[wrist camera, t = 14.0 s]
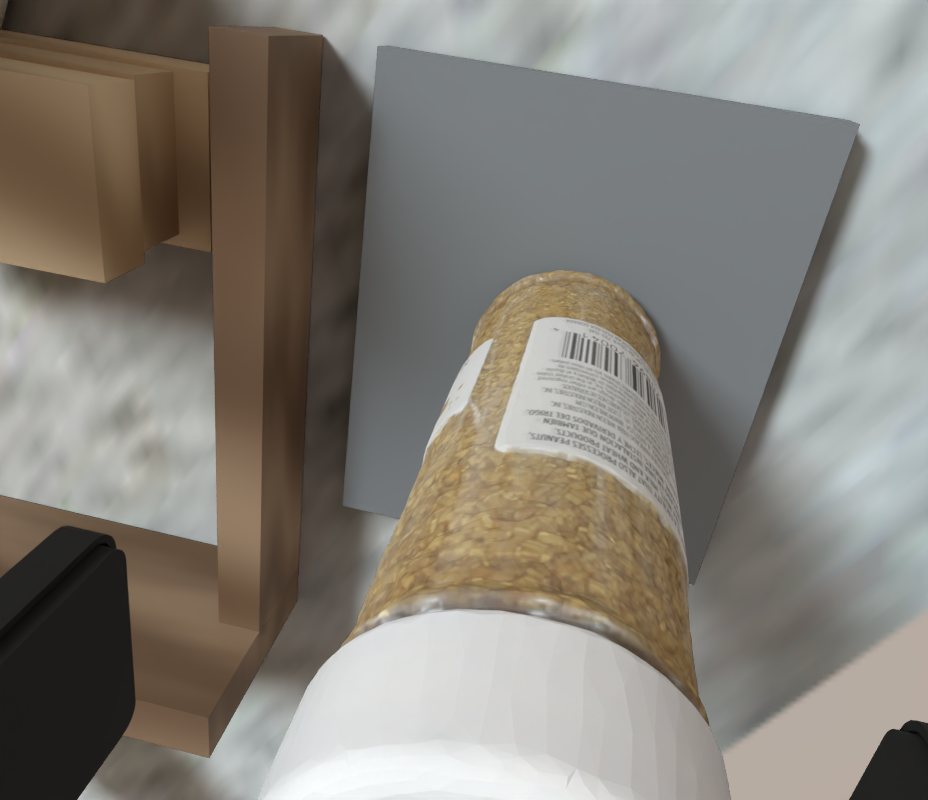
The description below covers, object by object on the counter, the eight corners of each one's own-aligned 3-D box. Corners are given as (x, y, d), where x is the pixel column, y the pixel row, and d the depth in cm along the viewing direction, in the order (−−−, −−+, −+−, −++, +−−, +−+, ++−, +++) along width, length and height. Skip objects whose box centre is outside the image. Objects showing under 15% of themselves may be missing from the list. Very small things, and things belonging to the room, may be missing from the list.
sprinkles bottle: (438, 328, 19) (121, 858, 7) (597, 226, 17) (551, 700, 5) (540, 467, 20) (426, 1125, 8) (699, 384, 18) (861, 1076, 6)
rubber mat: (691, 566, 21) (693, 584, 20) (351, 490, 22) (342, 505, 21) (848, 120, 16) (860, 124, 15) (387, 46, 17) (377, 46, 16)
